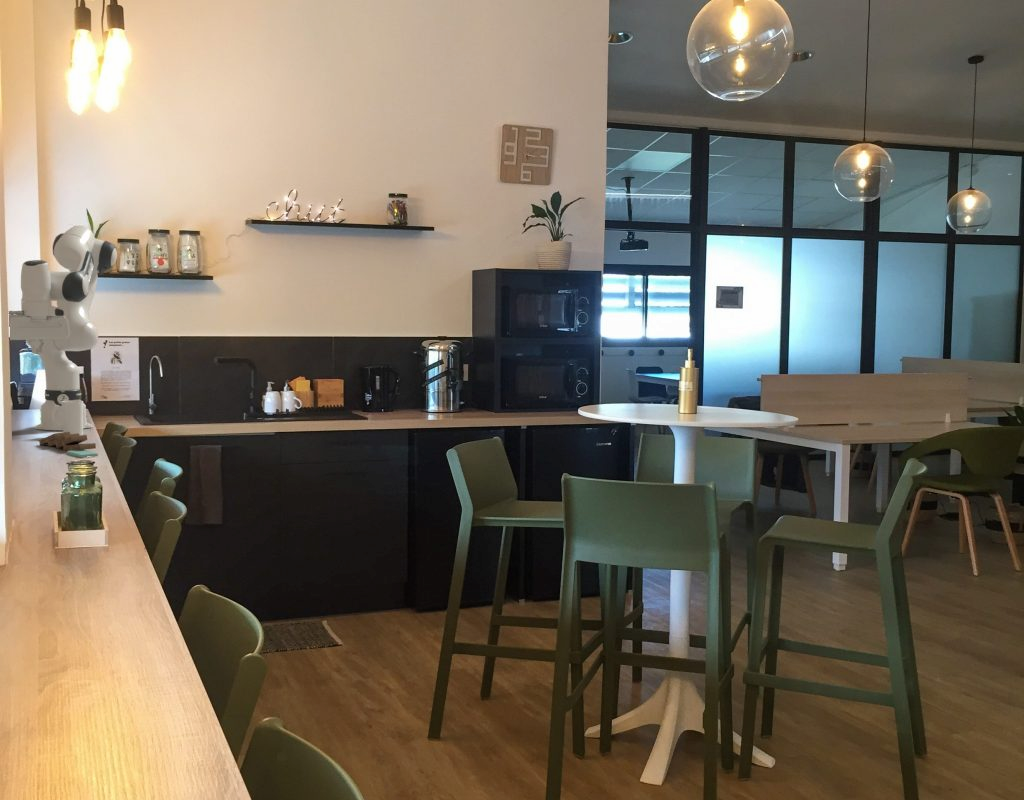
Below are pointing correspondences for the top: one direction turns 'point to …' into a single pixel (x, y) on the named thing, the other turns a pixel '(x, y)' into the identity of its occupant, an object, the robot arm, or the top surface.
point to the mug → (70, 416)
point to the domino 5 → (81, 453)
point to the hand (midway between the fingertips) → (37, 353)
